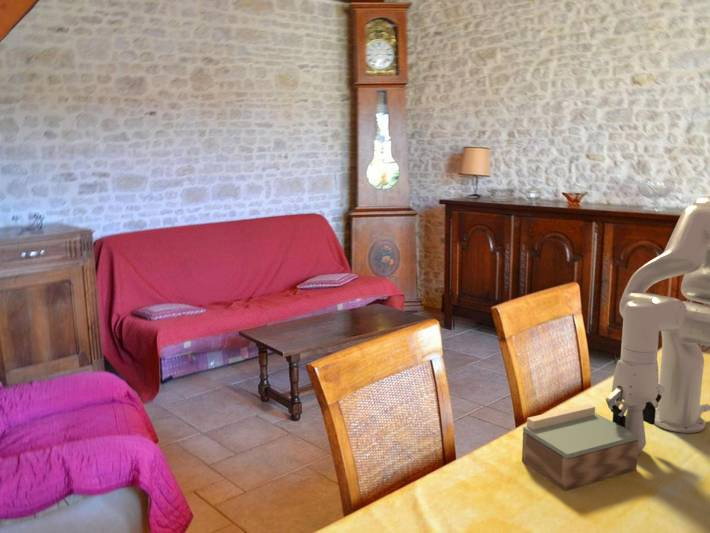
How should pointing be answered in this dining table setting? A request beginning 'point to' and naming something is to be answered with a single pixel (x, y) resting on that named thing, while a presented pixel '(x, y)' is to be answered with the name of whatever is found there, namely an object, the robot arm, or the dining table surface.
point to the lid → (577, 431)
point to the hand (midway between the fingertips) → (633, 426)
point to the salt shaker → (636, 423)
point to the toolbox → (579, 463)
